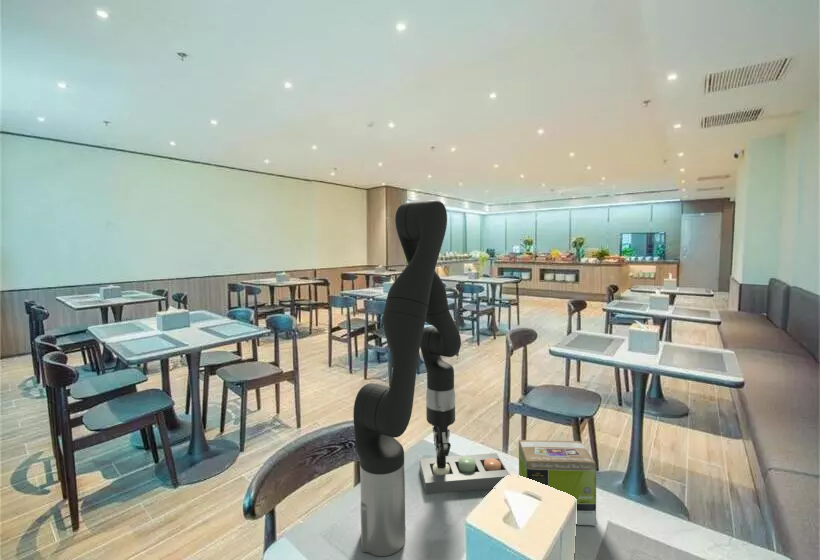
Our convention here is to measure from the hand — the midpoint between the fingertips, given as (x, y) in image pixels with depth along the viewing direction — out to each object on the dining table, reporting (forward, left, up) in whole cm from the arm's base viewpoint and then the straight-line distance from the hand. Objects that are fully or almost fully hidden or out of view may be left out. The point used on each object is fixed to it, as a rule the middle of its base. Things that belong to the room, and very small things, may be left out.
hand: (441, 466), depth 101 cm
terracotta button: (+14, 0, -2) cm, 14 cm away
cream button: (0, 0, -2) cm, 2 cm away
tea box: (+24, -15, -4) cm, 29 cm away
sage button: (+7, 0, -1) cm, 7 cm away
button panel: (+6, 0, -4) cm, 7 cm away
